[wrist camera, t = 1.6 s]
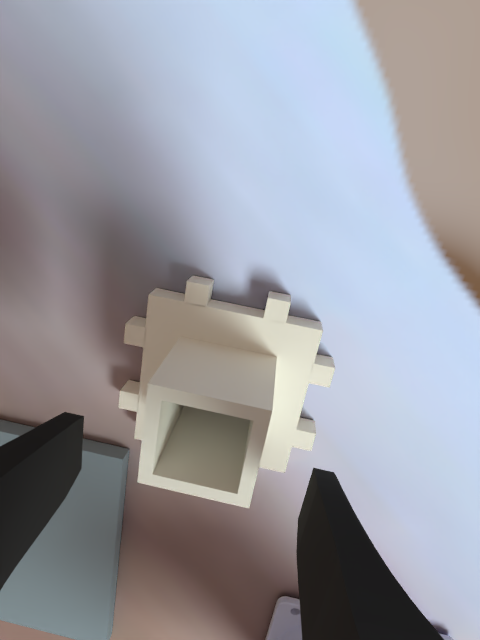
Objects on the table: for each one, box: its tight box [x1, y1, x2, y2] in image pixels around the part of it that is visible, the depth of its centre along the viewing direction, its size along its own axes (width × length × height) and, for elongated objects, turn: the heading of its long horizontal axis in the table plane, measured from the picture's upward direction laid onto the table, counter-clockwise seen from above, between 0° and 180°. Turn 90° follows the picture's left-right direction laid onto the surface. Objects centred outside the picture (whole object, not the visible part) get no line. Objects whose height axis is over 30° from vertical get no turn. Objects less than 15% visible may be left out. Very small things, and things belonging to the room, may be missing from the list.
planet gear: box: [119, 275, 335, 508], centre depth 16 cm, size 9×9×5 cm
